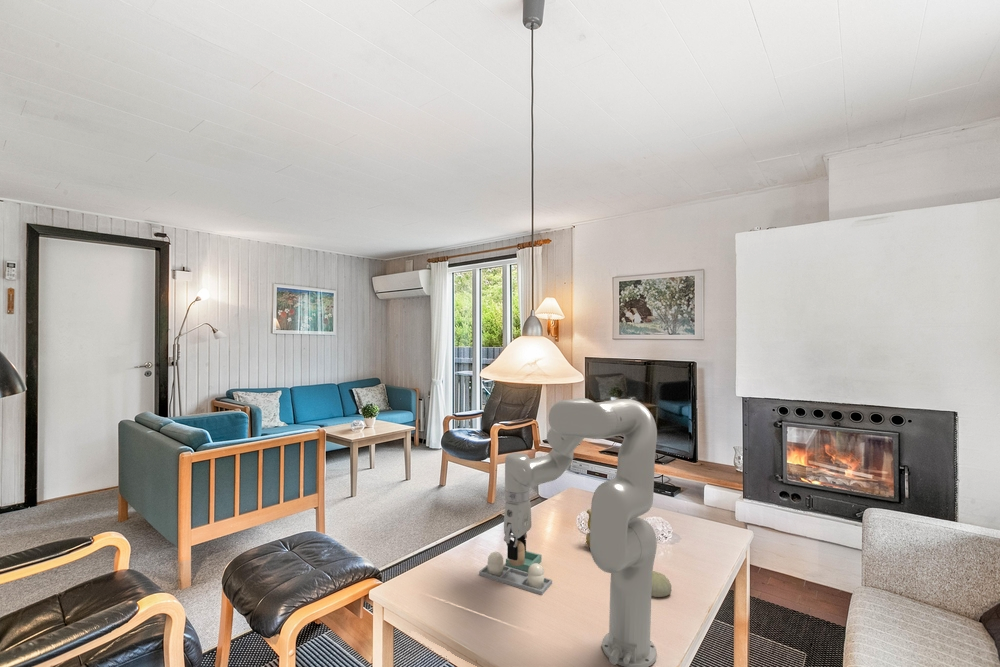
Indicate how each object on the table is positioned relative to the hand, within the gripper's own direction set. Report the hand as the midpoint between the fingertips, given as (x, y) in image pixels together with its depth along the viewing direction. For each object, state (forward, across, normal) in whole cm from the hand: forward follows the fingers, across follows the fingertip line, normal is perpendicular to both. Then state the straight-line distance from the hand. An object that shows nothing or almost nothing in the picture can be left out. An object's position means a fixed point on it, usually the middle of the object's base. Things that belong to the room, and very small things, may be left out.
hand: (516, 554), depth 145 cm
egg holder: (+8, +10, +3) cm, 13 cm away
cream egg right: (+8, 0, -6) cm, 10 cm away
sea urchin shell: (+9, +17, -37) cm, 42 cm away
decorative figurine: (+8, +34, -15) cm, 38 cm away
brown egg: (+2, 0, 0) cm, 2 cm away
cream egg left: (+7, 0, +8) cm, 11 cm away
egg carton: (+8, 0, +1) cm, 8 cm away
